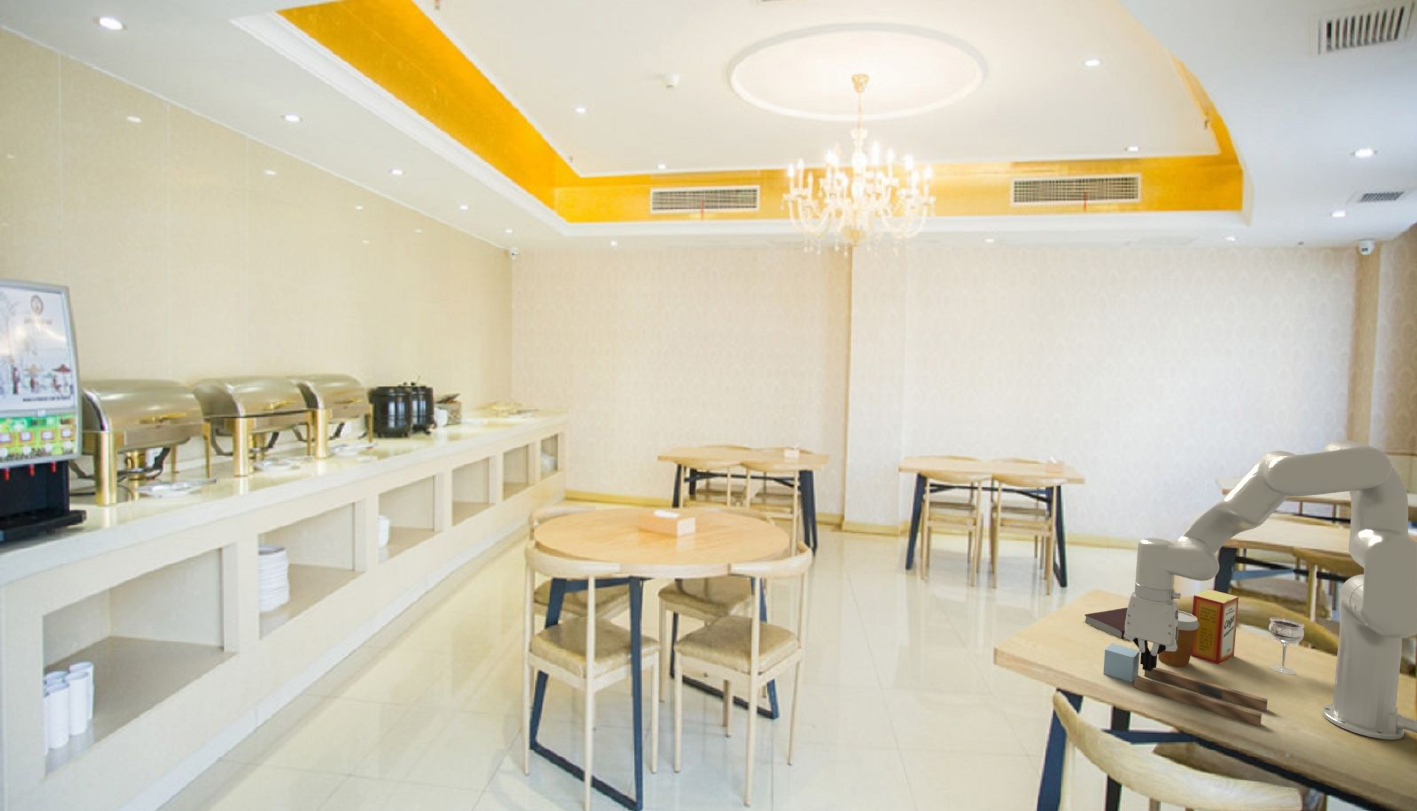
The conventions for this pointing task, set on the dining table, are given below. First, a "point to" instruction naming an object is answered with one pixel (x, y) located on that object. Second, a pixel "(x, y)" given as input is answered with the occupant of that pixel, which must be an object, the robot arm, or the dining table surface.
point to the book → (1109, 621)
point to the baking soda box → (1215, 625)
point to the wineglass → (1285, 637)
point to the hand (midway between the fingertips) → (1148, 668)
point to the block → (1121, 662)
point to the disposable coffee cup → (1182, 641)
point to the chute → (1201, 700)
